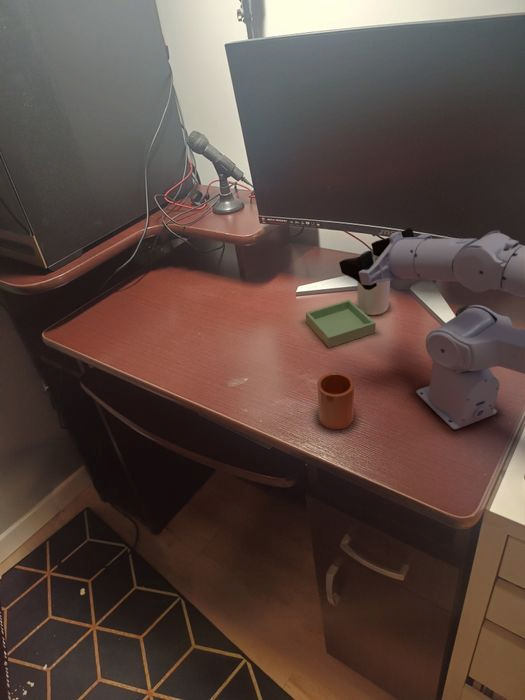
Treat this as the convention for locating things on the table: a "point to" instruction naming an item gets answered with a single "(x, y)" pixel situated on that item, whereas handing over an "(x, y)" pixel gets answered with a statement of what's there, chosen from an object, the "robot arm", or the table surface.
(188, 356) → the table surface
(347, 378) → the cup
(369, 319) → the tray
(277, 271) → the table surface
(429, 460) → the table surface
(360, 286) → the can
